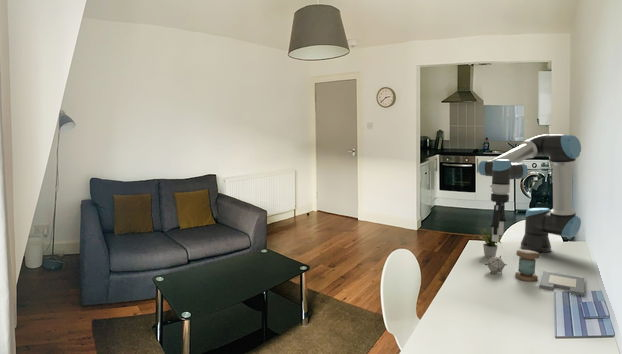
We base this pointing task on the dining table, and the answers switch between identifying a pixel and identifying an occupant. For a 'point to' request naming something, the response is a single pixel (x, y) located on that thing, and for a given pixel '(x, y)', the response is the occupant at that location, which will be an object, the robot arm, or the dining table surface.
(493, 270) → the game die
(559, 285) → the notched board
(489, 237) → the house plant
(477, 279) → the dining table surface
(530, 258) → the bobbin
